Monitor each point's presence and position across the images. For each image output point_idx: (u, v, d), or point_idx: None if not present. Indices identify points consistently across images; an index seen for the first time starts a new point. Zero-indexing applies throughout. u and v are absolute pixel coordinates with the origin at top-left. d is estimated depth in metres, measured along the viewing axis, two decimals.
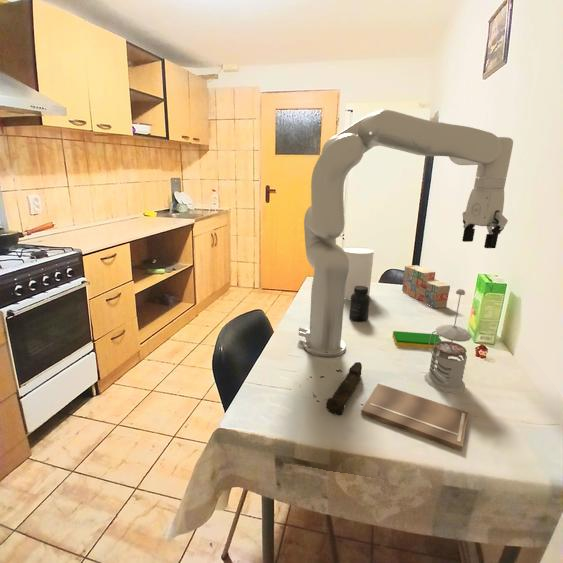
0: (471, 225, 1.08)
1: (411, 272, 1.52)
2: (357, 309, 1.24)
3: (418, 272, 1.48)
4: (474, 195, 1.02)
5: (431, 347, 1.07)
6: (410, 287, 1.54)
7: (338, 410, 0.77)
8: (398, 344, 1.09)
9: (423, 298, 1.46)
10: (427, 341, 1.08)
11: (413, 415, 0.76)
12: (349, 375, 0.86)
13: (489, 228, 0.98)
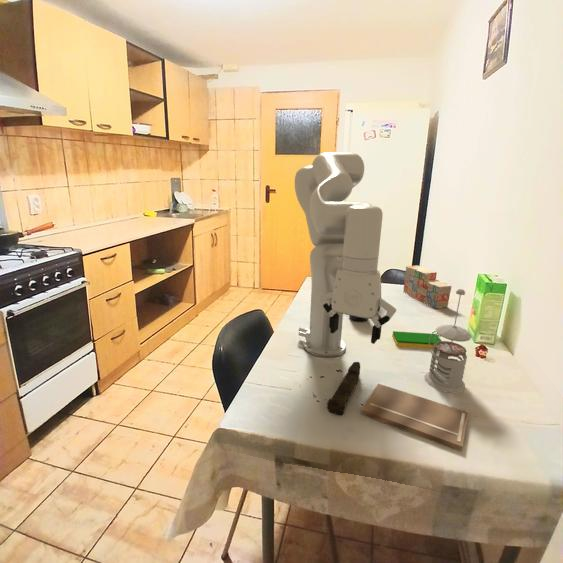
0: None
1: (413, 272, 1.52)
2: None
3: (419, 272, 1.48)
4: (346, 279, 0.76)
5: (431, 347, 1.08)
6: (411, 287, 1.53)
7: (339, 411, 0.77)
8: (399, 344, 1.08)
9: (424, 298, 1.46)
10: (427, 341, 1.08)
11: (413, 415, 0.76)
12: (348, 375, 0.86)
13: (375, 320, 0.76)
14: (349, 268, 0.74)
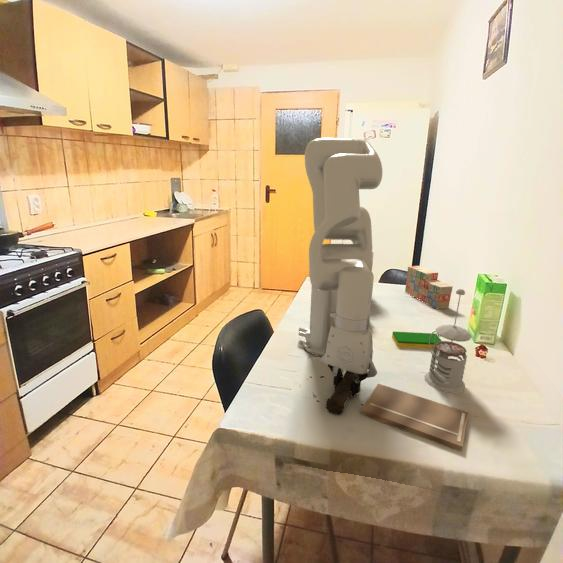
0: (339, 370, 0.85)
1: (414, 272, 1.51)
2: None
3: (421, 273, 1.47)
4: (339, 336, 0.79)
5: (432, 347, 1.08)
6: (413, 287, 1.53)
7: (338, 410, 0.76)
8: (399, 345, 1.08)
9: (425, 299, 1.45)
10: (427, 341, 1.08)
11: (413, 415, 0.76)
12: (347, 374, 0.86)
13: (357, 376, 0.81)
14: (341, 327, 0.78)
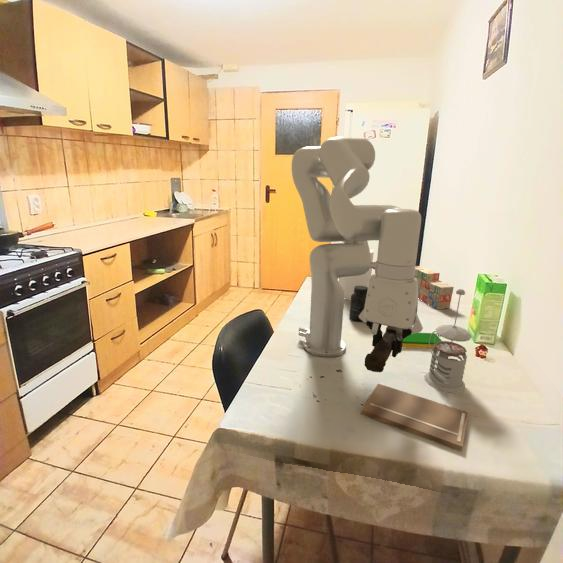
0: (379, 328, 0.77)
1: (416, 273, 1.51)
2: (357, 309, 1.24)
3: (422, 273, 1.47)
4: (381, 286, 0.72)
5: (432, 347, 1.08)
6: None
7: (378, 367, 0.69)
8: None
9: (426, 299, 1.45)
10: (428, 341, 1.08)
11: (413, 415, 0.76)
12: (386, 334, 0.78)
13: (400, 333, 0.73)
14: (384, 275, 0.70)
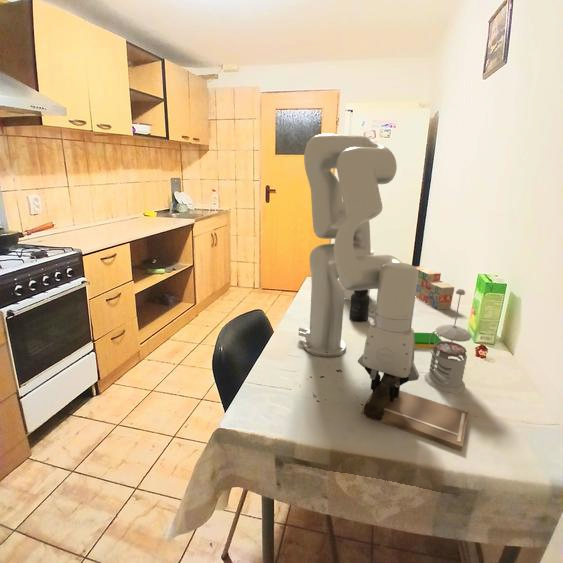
0: (377, 373, 0.80)
1: None
2: (357, 309, 1.24)
3: (423, 273, 1.47)
4: (379, 336, 0.75)
5: (432, 346, 1.08)
6: None
7: (377, 415, 0.72)
8: None
9: (427, 299, 1.45)
10: (428, 341, 1.08)
11: (413, 415, 0.76)
12: (384, 378, 0.81)
13: (397, 380, 0.76)
14: (383, 327, 0.73)
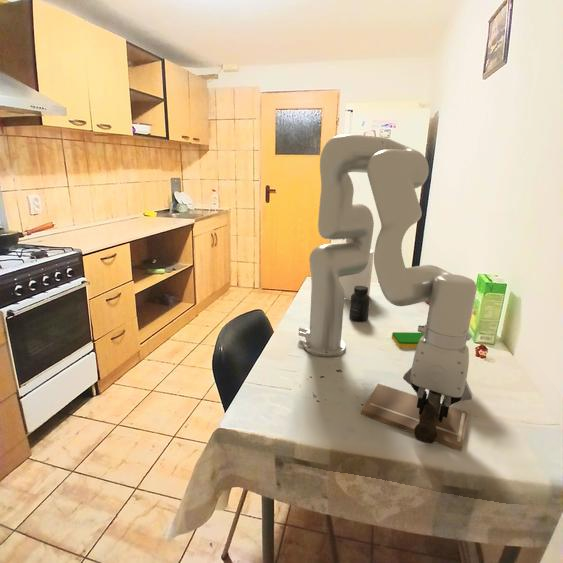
0: None
1: None
2: (357, 309, 1.24)
3: None
4: (430, 353, 0.70)
5: None
6: None
7: (429, 438, 0.67)
8: (401, 346, 1.08)
9: None
10: None
11: (413, 415, 0.76)
12: (431, 395, 0.77)
13: (448, 399, 0.71)
14: (436, 344, 0.68)
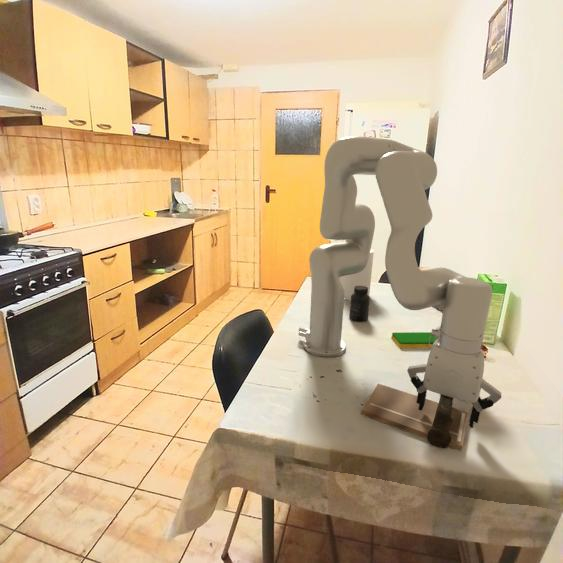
0: None
1: None
2: (357, 309, 1.24)
3: None
4: (445, 358, 0.68)
5: None
6: None
7: (443, 443, 0.66)
8: (401, 346, 1.07)
9: None
10: (428, 340, 1.08)
11: (413, 415, 0.76)
12: (443, 399, 0.75)
13: (476, 403, 0.69)
14: (451, 348, 0.67)
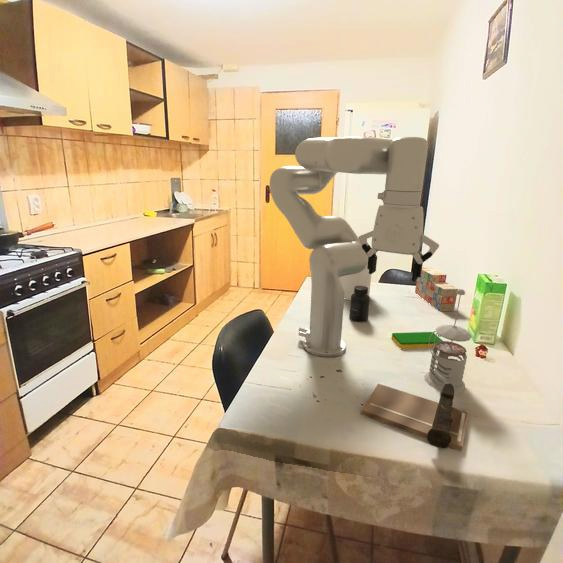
0: None
1: (423, 274, 1.50)
2: (357, 309, 1.24)
3: (428, 274, 1.46)
4: (388, 214, 0.75)
5: (433, 346, 1.08)
6: (421, 289, 1.51)
7: (443, 443, 0.66)
8: (402, 346, 1.07)
9: (431, 300, 1.44)
10: (428, 340, 1.09)
11: (413, 415, 0.76)
12: (443, 399, 0.75)
13: (417, 256, 0.76)
14: (392, 202, 0.73)
